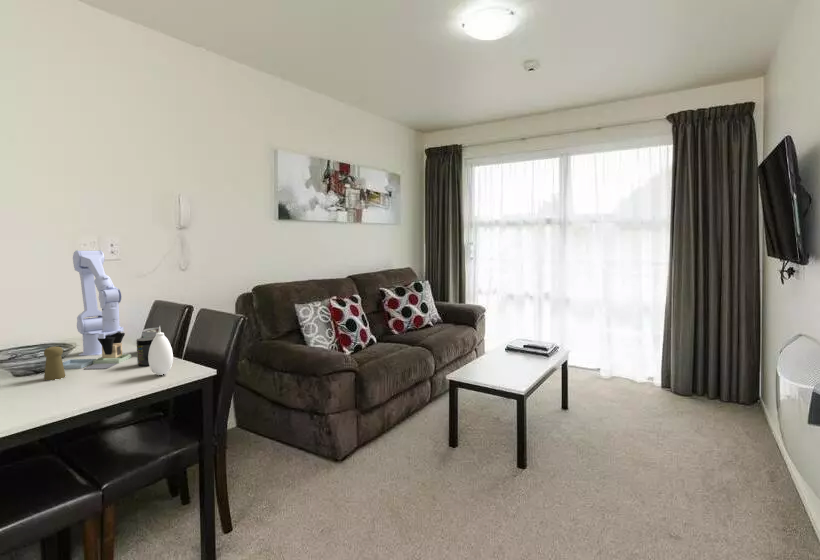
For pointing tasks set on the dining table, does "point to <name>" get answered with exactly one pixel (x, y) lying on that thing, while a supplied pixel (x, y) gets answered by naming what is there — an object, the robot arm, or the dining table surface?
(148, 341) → the supplement container
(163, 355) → the white air blower bulb
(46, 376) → the cork
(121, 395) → the dining table surface
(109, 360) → the sage tray
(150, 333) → the food container
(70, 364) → the blue-grey tray
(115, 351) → the letter block
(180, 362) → the dining table surface
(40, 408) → the dining table surface
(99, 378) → the dining table surface
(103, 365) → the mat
